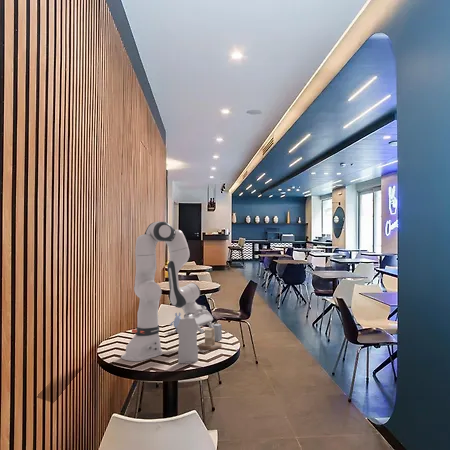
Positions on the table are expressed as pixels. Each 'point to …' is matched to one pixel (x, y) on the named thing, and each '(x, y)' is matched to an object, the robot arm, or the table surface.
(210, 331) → the birch block
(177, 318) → the toy figure
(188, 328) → the tall pale column
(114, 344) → the table surface
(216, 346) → the walnut board
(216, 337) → the slate grey block
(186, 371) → the table surface
